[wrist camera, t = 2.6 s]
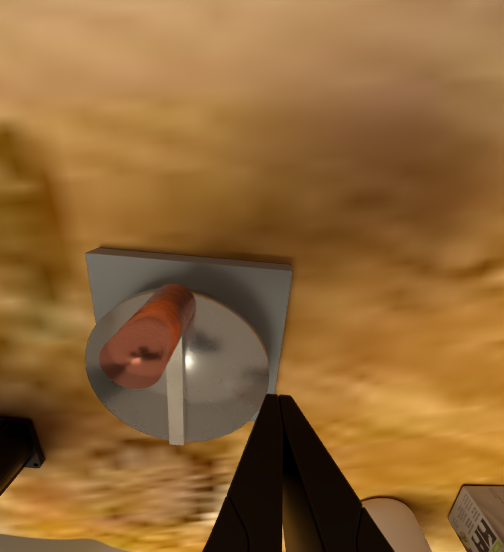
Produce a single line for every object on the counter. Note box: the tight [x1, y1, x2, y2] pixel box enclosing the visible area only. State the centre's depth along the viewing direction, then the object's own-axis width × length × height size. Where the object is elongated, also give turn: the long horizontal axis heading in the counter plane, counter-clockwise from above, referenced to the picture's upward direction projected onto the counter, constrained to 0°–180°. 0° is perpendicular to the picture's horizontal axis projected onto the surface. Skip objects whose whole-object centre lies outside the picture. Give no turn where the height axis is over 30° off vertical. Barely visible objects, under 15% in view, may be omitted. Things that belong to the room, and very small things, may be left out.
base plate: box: [85, 248, 293, 421], centre depth 20 cm, size 14×14×2 cm
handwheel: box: [85, 283, 269, 445], centre depth 15 cm, size 13×12×8 cm
